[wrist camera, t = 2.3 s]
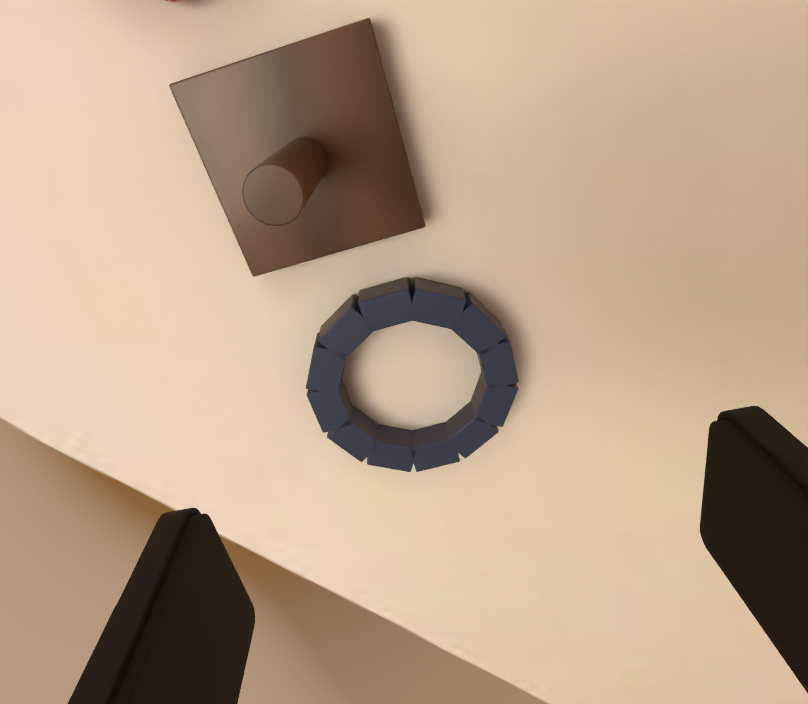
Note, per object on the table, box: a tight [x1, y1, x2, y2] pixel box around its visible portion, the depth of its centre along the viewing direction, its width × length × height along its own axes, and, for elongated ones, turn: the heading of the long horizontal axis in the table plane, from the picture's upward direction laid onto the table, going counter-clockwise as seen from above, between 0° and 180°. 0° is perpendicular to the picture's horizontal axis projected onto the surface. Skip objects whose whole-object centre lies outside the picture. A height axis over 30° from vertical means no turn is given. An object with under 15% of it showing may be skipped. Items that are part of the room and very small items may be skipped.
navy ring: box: [306, 277, 519, 472], centre depth 31 cm, size 12×12×2 cm
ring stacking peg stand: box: [169, 18, 425, 276], centre depth 21 cm, size 9×9×10 cm
